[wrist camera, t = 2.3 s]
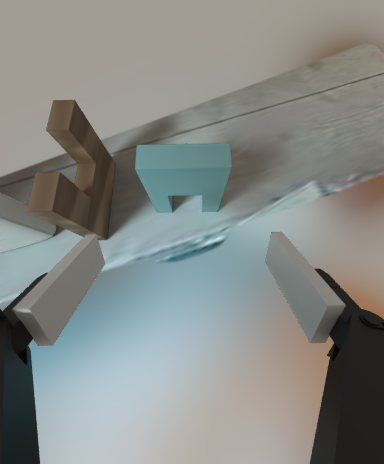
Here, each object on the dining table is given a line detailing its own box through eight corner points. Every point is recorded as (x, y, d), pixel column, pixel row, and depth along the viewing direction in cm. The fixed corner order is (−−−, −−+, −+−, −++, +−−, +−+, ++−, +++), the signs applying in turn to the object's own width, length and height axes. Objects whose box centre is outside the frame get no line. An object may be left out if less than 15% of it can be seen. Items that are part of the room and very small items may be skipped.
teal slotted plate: (156, 212, 31) (135, 169, 19) (157, 196, 32) (136, 144, 20) (217, 211, 31) (231, 167, 19) (216, 195, 32) (229, 143, 20)
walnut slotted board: (91, 240, 30) (26, 211, 18) (101, 164, 34) (53, 100, 22) (107, 240, 30) (51, 210, 18) (115, 163, 34) (74, 100, 22)
